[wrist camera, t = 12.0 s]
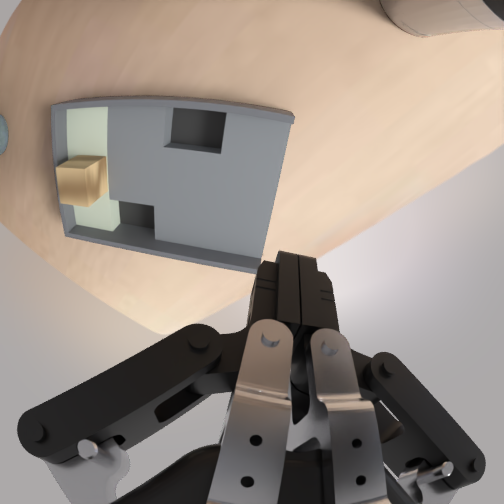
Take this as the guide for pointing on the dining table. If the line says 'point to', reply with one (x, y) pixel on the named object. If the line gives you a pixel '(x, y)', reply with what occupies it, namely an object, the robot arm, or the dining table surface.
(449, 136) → the dining table surface
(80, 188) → the oak block
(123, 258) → the dining table surface
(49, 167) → the dining table surface
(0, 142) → the teal tumbler
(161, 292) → the dining table surface
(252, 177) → the box
